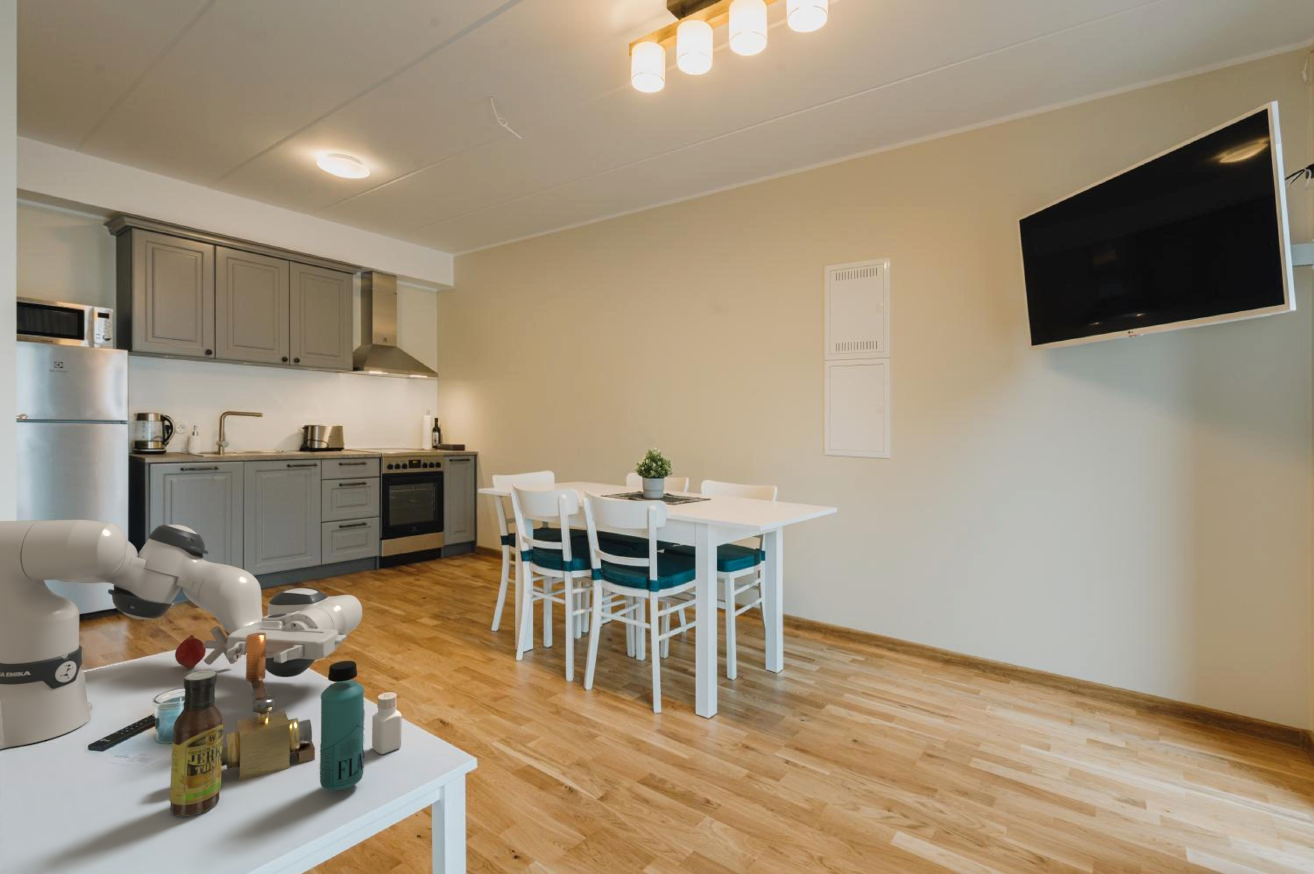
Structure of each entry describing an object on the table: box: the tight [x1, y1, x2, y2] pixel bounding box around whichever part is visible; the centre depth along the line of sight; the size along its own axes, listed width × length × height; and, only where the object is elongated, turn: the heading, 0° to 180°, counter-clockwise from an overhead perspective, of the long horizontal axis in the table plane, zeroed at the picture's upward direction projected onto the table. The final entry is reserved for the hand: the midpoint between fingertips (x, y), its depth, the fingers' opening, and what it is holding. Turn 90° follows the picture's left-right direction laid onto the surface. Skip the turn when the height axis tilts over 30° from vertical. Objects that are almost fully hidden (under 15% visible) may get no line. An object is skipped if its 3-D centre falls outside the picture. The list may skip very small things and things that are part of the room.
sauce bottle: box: [169, 670, 224, 817], centre depth 96 cm, size 6×6×20 cm
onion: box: [174, 634, 207, 670], centre depth 149 cm, size 6×6×8 cm
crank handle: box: [245, 633, 276, 714], centre depth 112 cm, size 15×3×9 cm, turn 38°
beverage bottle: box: [318, 660, 366, 791], centre depth 101 cm, size 6×7×20 cm
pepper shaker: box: [371, 691, 403, 755], centre depth 114 cm, size 4×4×10 cm
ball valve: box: [222, 710, 316, 782], centre depth 106 cm, size 18×6×10 cm, turn 128°
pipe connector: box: [203, 625, 239, 666], centre depth 147 cm, size 10×10×10 cm
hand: (253, 657), depth 116 cm, fingers open, 8 cm apart
